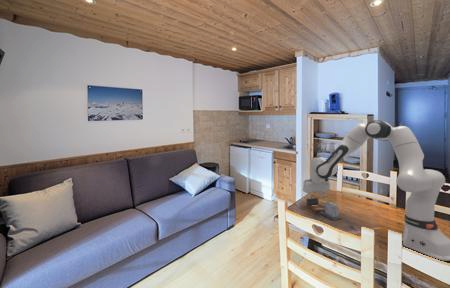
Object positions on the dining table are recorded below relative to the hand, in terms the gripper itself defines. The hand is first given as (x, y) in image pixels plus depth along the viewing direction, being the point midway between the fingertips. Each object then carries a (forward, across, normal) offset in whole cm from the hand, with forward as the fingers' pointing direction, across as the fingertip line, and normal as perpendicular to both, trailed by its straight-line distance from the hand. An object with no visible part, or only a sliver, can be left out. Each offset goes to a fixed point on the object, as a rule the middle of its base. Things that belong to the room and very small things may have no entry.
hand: (316, 197), depth 160 cm
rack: (+8, 0, 0) cm, 9 cm away
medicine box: (+9, +1, -15) cm, 17 cm away
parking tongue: (+9, +1, -14) cm, 17 cm away
